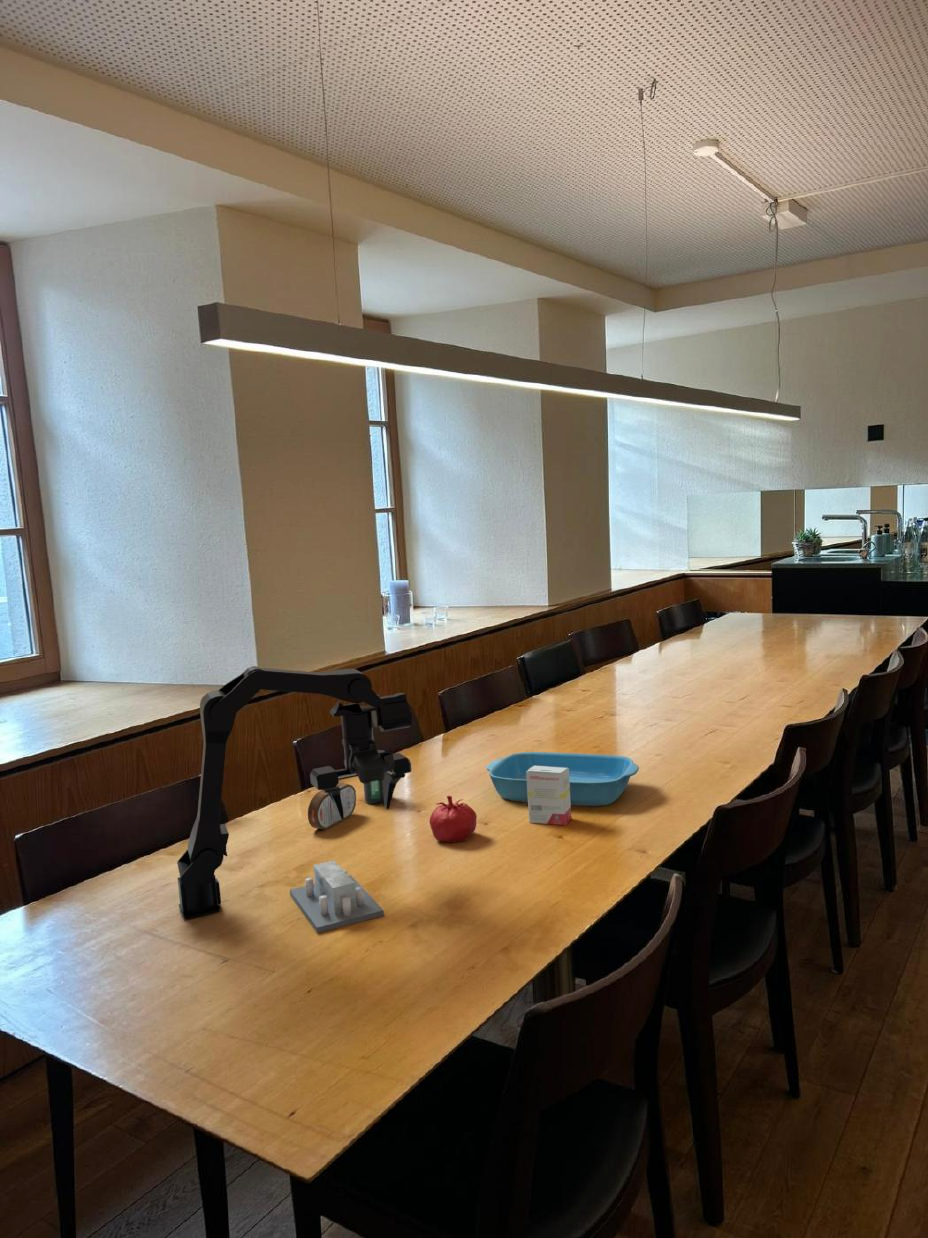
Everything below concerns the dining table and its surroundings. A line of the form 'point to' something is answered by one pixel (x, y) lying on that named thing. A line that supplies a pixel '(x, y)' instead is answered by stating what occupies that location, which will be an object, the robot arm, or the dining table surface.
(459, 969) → the dining table surface
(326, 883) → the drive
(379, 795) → the supplement bottle
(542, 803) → the ink box
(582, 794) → the casserole dish
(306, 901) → the grey pegged platform
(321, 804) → the tin
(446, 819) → the red tomato
